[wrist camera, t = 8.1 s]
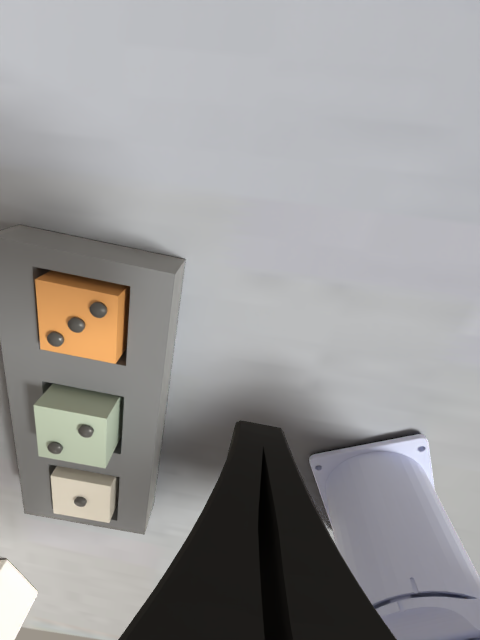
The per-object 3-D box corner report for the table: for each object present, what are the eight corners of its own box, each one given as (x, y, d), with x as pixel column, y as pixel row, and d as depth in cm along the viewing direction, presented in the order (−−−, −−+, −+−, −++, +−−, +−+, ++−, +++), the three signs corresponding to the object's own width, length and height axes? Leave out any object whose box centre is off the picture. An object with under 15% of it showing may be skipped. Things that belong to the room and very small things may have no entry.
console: (153, 503, 28) (144, 534, 26) (43, 483, 27) (24, 513, 25) (185, 259, 18) (175, 274, 16) (19, 224, 18) (-15, 234, 16)
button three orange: (134, 336, 21) (114, 366, 18) (69, 323, 21) (38, 351, 18) (138, 275, 19) (116, 297, 16) (67, 261, 19) (32, 280, 16)
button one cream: (124, 486, 27) (108, 525, 24) (74, 477, 27) (52, 515, 24) (126, 451, 25) (109, 489, 22) (72, 441, 25) (48, 478, 22)
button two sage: (123, 431, 23) (104, 471, 20) (64, 420, 23) (36, 458, 20) (126, 385, 21) (105, 421, 18) (62, 372, 21) (31, 407, 18)
